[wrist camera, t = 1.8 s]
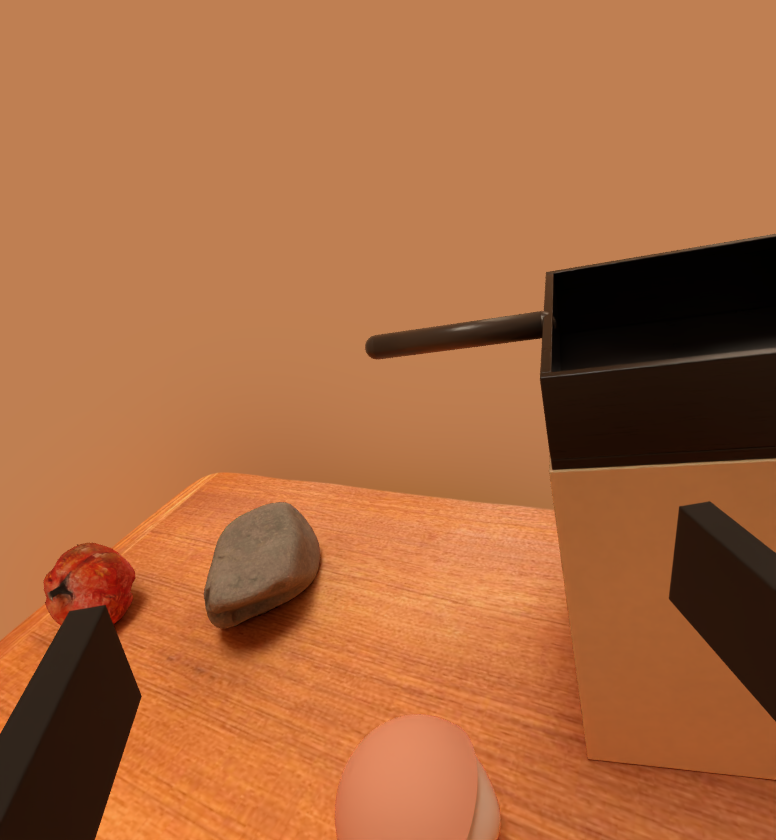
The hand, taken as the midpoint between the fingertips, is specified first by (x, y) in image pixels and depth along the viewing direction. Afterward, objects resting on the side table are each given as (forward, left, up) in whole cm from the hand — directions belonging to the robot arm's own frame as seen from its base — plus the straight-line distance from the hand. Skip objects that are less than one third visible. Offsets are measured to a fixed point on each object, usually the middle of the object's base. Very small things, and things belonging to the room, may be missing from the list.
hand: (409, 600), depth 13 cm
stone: (+22, -20, -23) cm, 37 cm away
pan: (-5, -16, -3) cm, 17 cm away
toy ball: (+5, -4, -23) cm, 23 cm away
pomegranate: (+38, -18, -23) cm, 48 cm away
